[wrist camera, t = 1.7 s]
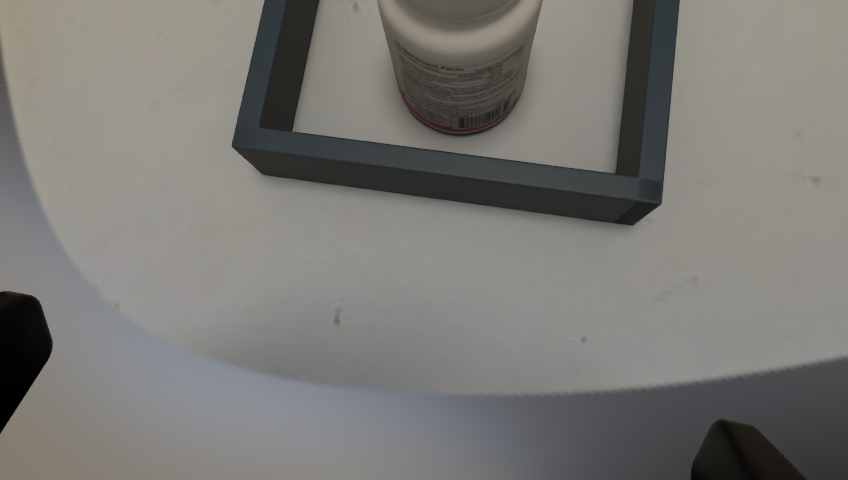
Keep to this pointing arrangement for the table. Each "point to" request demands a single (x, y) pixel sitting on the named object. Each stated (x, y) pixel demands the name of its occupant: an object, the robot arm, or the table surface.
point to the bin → (452, 172)
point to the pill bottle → (460, 58)
